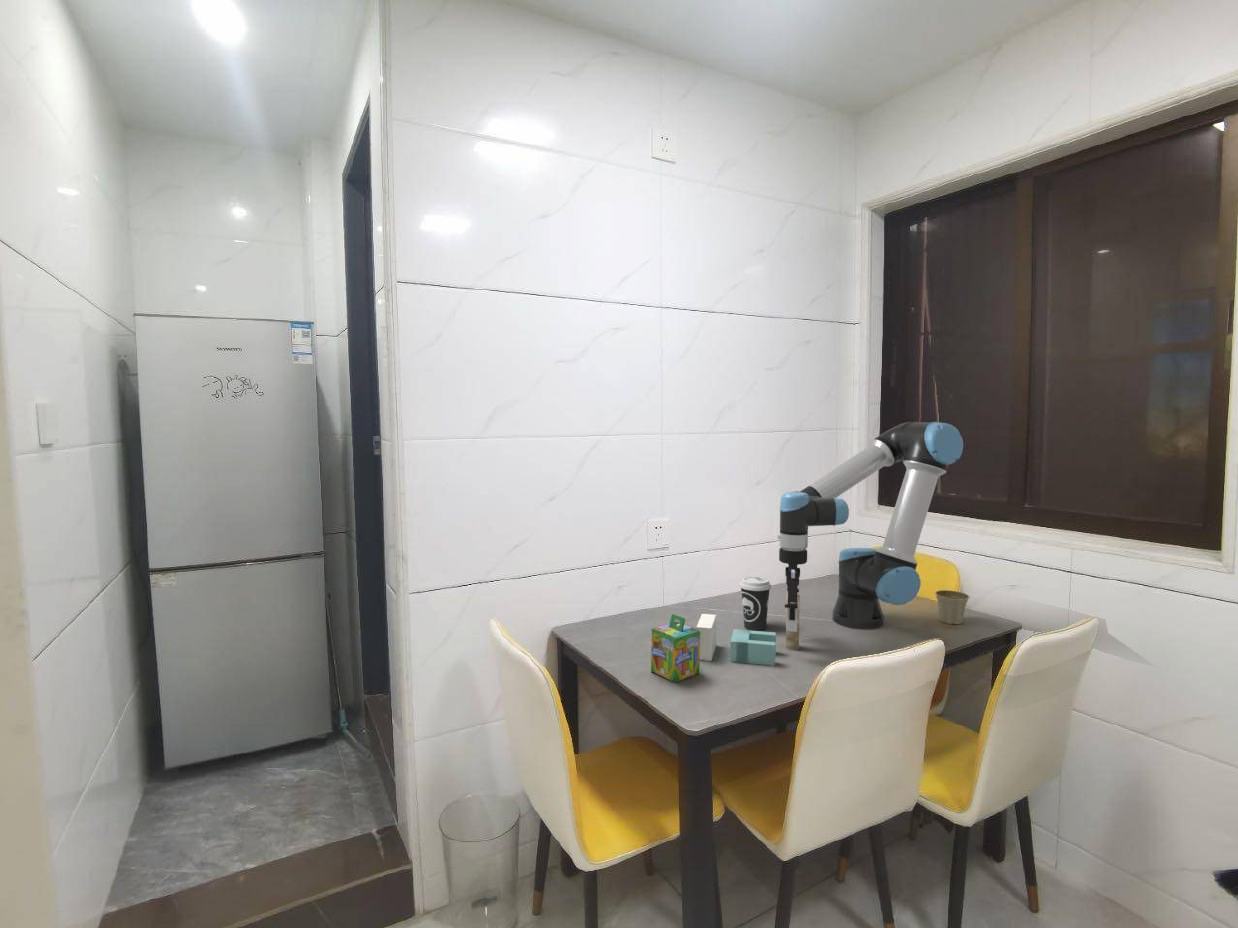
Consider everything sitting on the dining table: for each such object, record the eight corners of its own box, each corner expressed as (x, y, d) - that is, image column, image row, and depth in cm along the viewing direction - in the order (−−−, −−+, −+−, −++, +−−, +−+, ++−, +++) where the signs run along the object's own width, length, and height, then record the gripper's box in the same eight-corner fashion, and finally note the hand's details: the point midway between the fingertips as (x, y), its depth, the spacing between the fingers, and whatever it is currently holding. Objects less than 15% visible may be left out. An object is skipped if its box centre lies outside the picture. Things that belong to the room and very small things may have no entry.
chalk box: (650, 672, 157) (649, 616, 155) (676, 662, 162) (675, 608, 161) (675, 684, 149) (674, 625, 148) (701, 673, 155) (701, 617, 154)
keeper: (775, 651, 168) (775, 632, 168) (775, 665, 159) (775, 645, 159) (733, 648, 171) (733, 629, 171) (730, 661, 162) (730, 641, 162)
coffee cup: (771, 633, 182) (772, 584, 181) (739, 631, 184) (739, 583, 183) (770, 622, 191) (770, 576, 190) (739, 621, 193) (739, 574, 192)
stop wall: (716, 645, 173) (716, 614, 173) (711, 660, 163) (711, 628, 162) (702, 644, 175) (701, 613, 174) (696, 659, 164) (696, 626, 163)
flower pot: (970, 619, 191) (971, 593, 190) (966, 628, 183) (967, 600, 183) (937, 614, 197) (937, 588, 196) (931, 622, 189) (932, 595, 188)
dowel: (799, 645, 172) (799, 593, 171) (799, 650, 169) (799, 597, 168) (785, 644, 173) (786, 593, 172) (785, 649, 170) (786, 596, 169)
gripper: (779, 538, 182) (778, 607, 183) (778, 557, 158) (776, 636, 160) (806, 539, 180) (804, 609, 181) (808, 559, 156) (806, 639, 158)
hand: (791, 622), depth 170 cm, fingers open, 13 cm apart
